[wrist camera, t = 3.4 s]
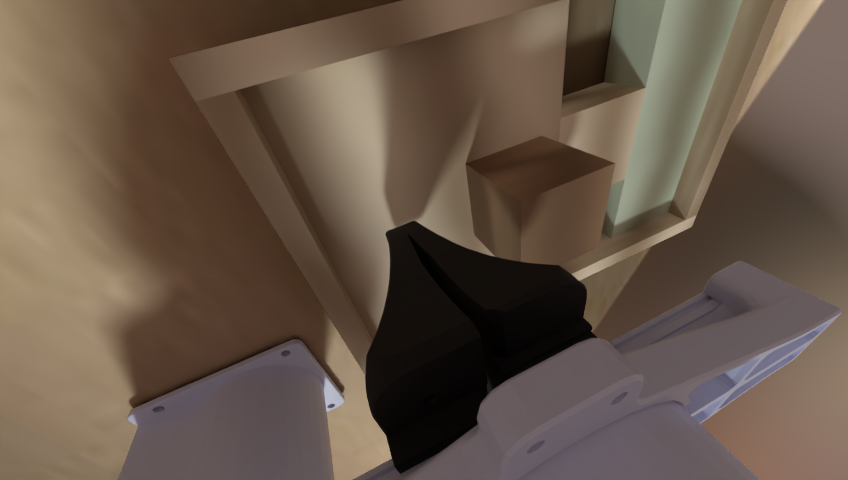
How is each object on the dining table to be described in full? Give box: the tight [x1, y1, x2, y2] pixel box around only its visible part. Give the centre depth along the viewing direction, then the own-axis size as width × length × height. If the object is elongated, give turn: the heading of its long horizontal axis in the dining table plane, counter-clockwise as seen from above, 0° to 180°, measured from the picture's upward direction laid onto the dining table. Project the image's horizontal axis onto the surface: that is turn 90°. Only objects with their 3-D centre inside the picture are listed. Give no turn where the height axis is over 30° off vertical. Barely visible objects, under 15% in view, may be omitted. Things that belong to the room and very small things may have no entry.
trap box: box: [168, 0, 787, 374], centre depth 16 cm, size 24×16×4 cm, turn 102°
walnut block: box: [465, 136, 615, 265], centre depth 13 cm, size 4×4×4 cm
